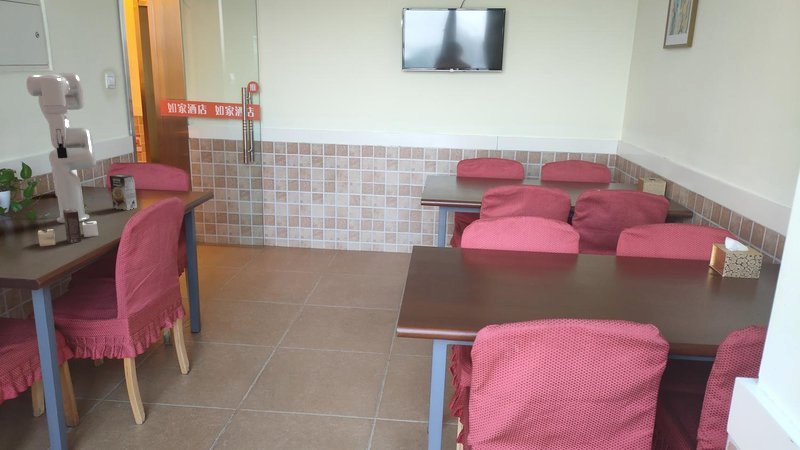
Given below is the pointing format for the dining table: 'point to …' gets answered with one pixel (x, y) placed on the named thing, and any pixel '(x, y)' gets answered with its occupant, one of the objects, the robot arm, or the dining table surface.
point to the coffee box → (123, 191)
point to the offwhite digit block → (90, 229)
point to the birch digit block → (46, 237)
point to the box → (72, 225)
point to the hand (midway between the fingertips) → (62, 157)
